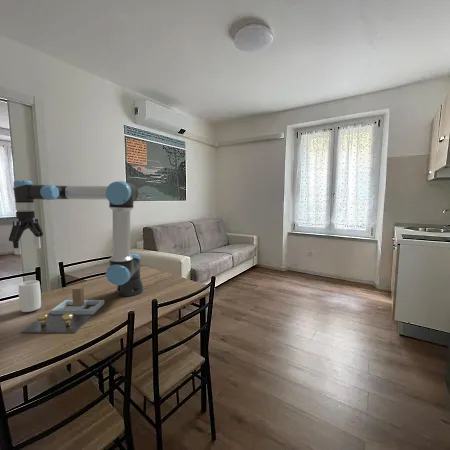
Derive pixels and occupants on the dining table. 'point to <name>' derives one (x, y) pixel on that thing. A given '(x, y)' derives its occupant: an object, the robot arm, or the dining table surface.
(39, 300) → the cup
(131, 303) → the dining table surface
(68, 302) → the panel
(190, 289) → the dining table surface
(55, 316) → the plate
